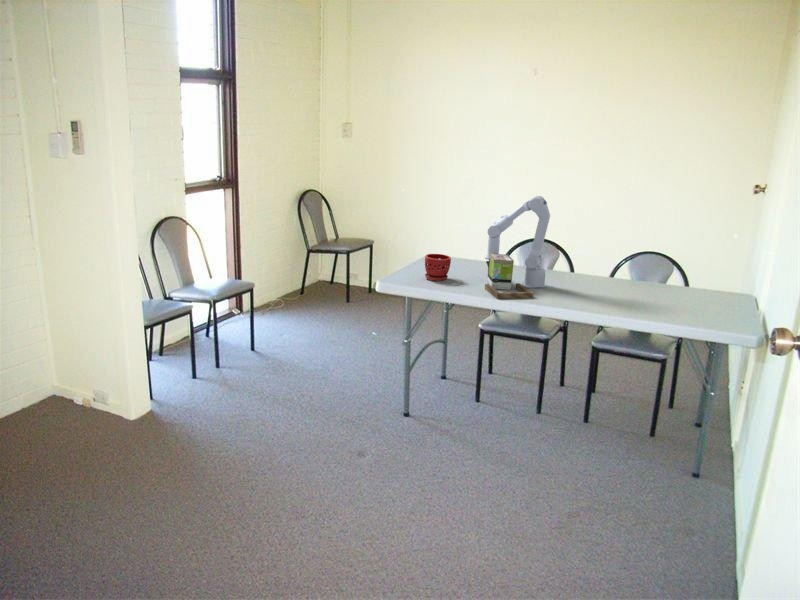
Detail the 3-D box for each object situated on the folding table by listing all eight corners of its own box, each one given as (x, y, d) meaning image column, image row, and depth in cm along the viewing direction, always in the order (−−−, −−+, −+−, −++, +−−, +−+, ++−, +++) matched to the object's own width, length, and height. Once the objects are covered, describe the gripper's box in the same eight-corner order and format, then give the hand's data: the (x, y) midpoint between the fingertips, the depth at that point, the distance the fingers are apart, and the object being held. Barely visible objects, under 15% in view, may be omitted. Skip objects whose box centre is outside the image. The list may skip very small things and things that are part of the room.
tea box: (511, 290, 326) (514, 260, 322) (490, 289, 326) (493, 259, 322) (506, 282, 341) (508, 253, 337) (486, 281, 340) (488, 252, 336)
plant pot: (426, 282, 336) (427, 258, 333) (422, 276, 349) (423, 253, 346) (452, 282, 338) (453, 258, 335) (447, 275, 351) (448, 253, 347)
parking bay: (518, 288, 330) (519, 283, 329) (532, 297, 313) (533, 292, 313) (484, 289, 326) (485, 284, 326) (496, 298, 310) (497, 293, 309)
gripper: (481, 246, 345) (479, 272, 348) (490, 251, 331) (488, 278, 335) (494, 246, 346) (492, 271, 350) (504, 251, 332) (502, 278, 336)
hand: (491, 275), depth 342 cm, fingers closed
